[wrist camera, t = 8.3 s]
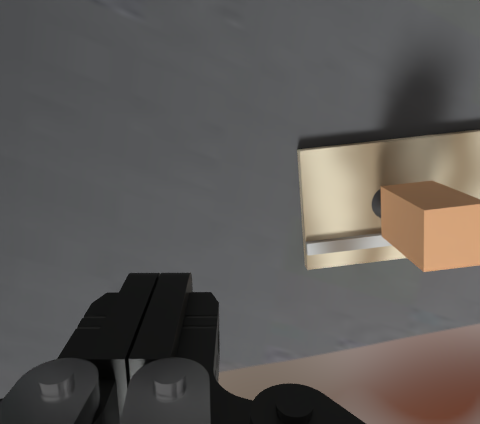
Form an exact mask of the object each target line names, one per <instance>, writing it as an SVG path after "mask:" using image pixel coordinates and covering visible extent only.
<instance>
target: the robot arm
mask: <svg viewBox="0 0 480 424" xmlns="http://www.w3.org/2000/svg"><path fill="white" fill-rule="evenodd" d="M219 359H220V348H219V302H218V301H217V300H216V298H215V297H214V296H213V294H212V293H211V292H192V276H191V273H161V274H160V273H129V275H128V276H127V278H126V280H125V282H124V284H123V286H122V288H121V290H120V292H119V293H106V294H104V295H103V296H102V297H100V298H99V299H97V300H96V301H94V302H93V303H92V304H91V305H90V307H89V309H88V310H87V312H86V313H85V315H84V318H82V320H81V321H80V323H79V325H78V328H77V329H75V331H74V333H73V334H72V336H71V338H70V339H69V341H68V342H67V344H66V346H65V347H64V349H63V350H62V352H61V354H60V355H59V357H58V358H57V359H56V360H52V361H48V362H45V363H43V364H40V365H38V366H36V367H34V368H33V369H31V370H29V371H28V372H27V373H25V374H24V375H23V376H22V377H21V378H20V379H19V380H18V381H17V382H16V384H15V385H14V386H13V387H12V388H11V390H10V391H9V392H8V393H7V395H6V396H5V397H4V398H3V399H0V424H365V423H364V422H363V421H361V420H360V419H358V418H357V417H356V416H354V415H353V414H351V413H350V412H348V411H347V410H346V409H344V408H343V407H341V406H340V405H339V404H337V403H335V402H334V401H333V400H331V399H330V398H329V397H327V396H326V395H324V394H323V393H321V392H320V391H318V390H315V389H313V388H311V387H308V386H305V385H300V384H280V385H275V386H272V387H269V388H267V389H265V390H263V391H262V392H260V393H259V394H258V395H257V396H256V397H255V399H254V400H253V401H252V400H248V399H244V398H241V397H238V396H235V395H233V394H231V393H229V392H228V391H226V390H225V389H224V388H222V387H221V386H220V385H219V383H218V375H219Z"/></svg>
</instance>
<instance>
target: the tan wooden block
mask: <svg viewBox="0 0 480 424" xmlns="http://www.w3.org/2000/svg"><path fill="white" fill-rule="evenodd" d="M381 234H382V237H383V238H384V239H385V240H386V241H388V242H389V243H390V244H391V245H392V246H394V247H395V248H396V249H397V250H398V251H399V252H401V253H402V254H403V255H404V256H405V257H407V258H408V259H409V260H410V261H411V262H413V263H414V264H415V265H416V266H417V267H418V268H420V269H421V270H422V271H423V272H427V271H436V270H444V269H452V268H461V267H469V266H477V265H480V199H478V198H475V197H473V196H470V195H468V194H465V193H463V192H460V191H458V190H455V189H453V188H450V187H448V186H445V185H443V184H440V183H438V182H435V181H433V180H432V181H423V182H414V183H405V184H396V185H388V186H381Z"/></svg>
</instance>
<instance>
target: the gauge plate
mask: <svg viewBox="0 0 480 424" xmlns="http://www.w3.org/2000/svg"><path fill="white" fill-rule="evenodd" d="M297 155H298V169H299V184H300V199H301V214H302V229H303V244H304V259H305V266H306V268H307V270H310V269H318V268H327V267H335V266H343V265H352V264H360V263H369V262H377V261H385V260H394V259H402V258H407V257H405V256H404V255H403V254H402V253H401V252H399V251H398V250H397V249H396V248H395V247H394V246H392V245H391V244H390V243H389V242H388V241H386V240H385V239H384V238H383V237H382V234H381V186H388V185H396V184H405V183H414V182H423V181H432V180H433V181H435V182H438V183H440V184H443V185H445V186H448V187H450V188H453V189H455V190H458V191H460V192H463V193H465V194H468V195H470V196H473V197H475V198H478V199H480V130H471V131H462V132H452V133H443V134H434V135H425V136H416V137H407V138H398V139H389V140H379V141H370V142H361V143H352V144H343V145H334V146H325V147H316V148H306V149H297Z"/></svg>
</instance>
